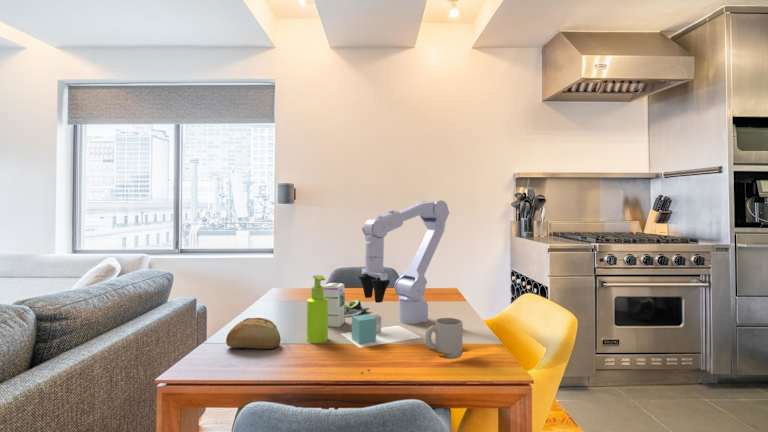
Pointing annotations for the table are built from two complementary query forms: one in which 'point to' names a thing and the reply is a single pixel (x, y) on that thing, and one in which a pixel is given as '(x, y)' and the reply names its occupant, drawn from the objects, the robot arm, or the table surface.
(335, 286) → the syrup box
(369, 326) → the teal rectangular block
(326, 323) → the soap dispenser
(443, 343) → the cup
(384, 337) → the post board
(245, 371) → the table surface
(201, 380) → the table surface
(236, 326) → the bread roll
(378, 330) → the steel post
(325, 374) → the table surface
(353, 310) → the salad plate
